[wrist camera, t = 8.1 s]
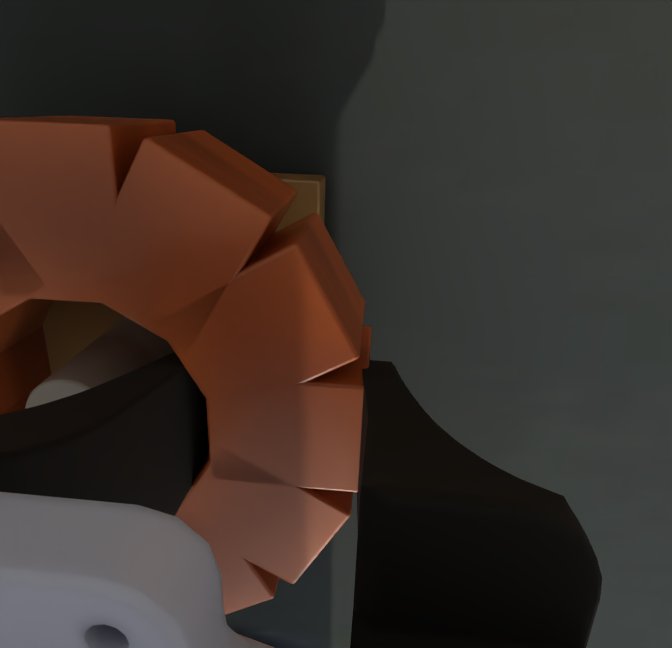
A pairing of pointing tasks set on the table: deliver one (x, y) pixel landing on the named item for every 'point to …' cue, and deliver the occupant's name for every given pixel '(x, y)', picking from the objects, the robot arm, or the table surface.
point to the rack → (127, 323)
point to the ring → (198, 318)
